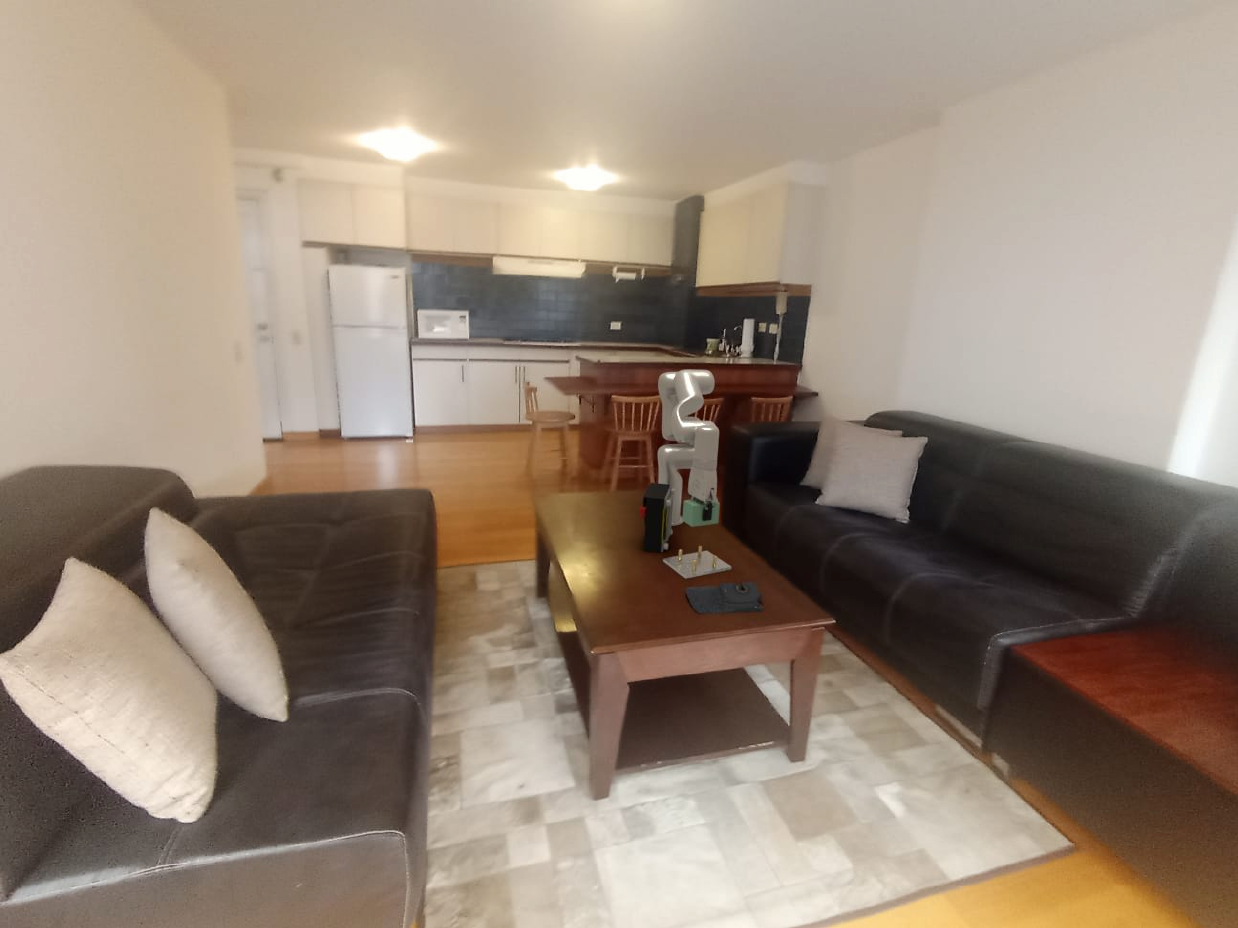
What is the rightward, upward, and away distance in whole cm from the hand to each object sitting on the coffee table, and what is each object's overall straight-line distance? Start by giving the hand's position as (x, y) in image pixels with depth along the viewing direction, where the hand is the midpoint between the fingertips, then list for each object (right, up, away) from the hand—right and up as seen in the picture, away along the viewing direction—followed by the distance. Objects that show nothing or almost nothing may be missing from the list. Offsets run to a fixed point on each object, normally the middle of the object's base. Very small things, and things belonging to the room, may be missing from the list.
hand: (700, 516), depth 189 cm
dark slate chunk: (+4, -24, -18) cm, 30 cm away
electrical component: (-13, -12, +22) cm, 29 cm away
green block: (0, -2, 0) cm, 2 cm away
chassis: (-1, -17, +5) cm, 18 cm away
